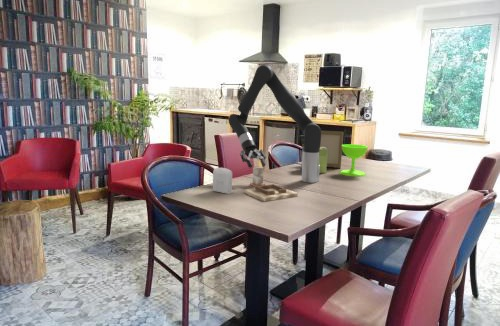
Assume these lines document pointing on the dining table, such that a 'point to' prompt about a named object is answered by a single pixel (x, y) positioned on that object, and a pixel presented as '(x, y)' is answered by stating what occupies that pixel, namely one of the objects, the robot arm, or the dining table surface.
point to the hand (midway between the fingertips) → (257, 166)
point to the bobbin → (257, 176)
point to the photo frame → (332, 147)
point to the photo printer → (222, 180)
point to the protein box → (321, 159)
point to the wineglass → (353, 158)
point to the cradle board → (270, 192)
